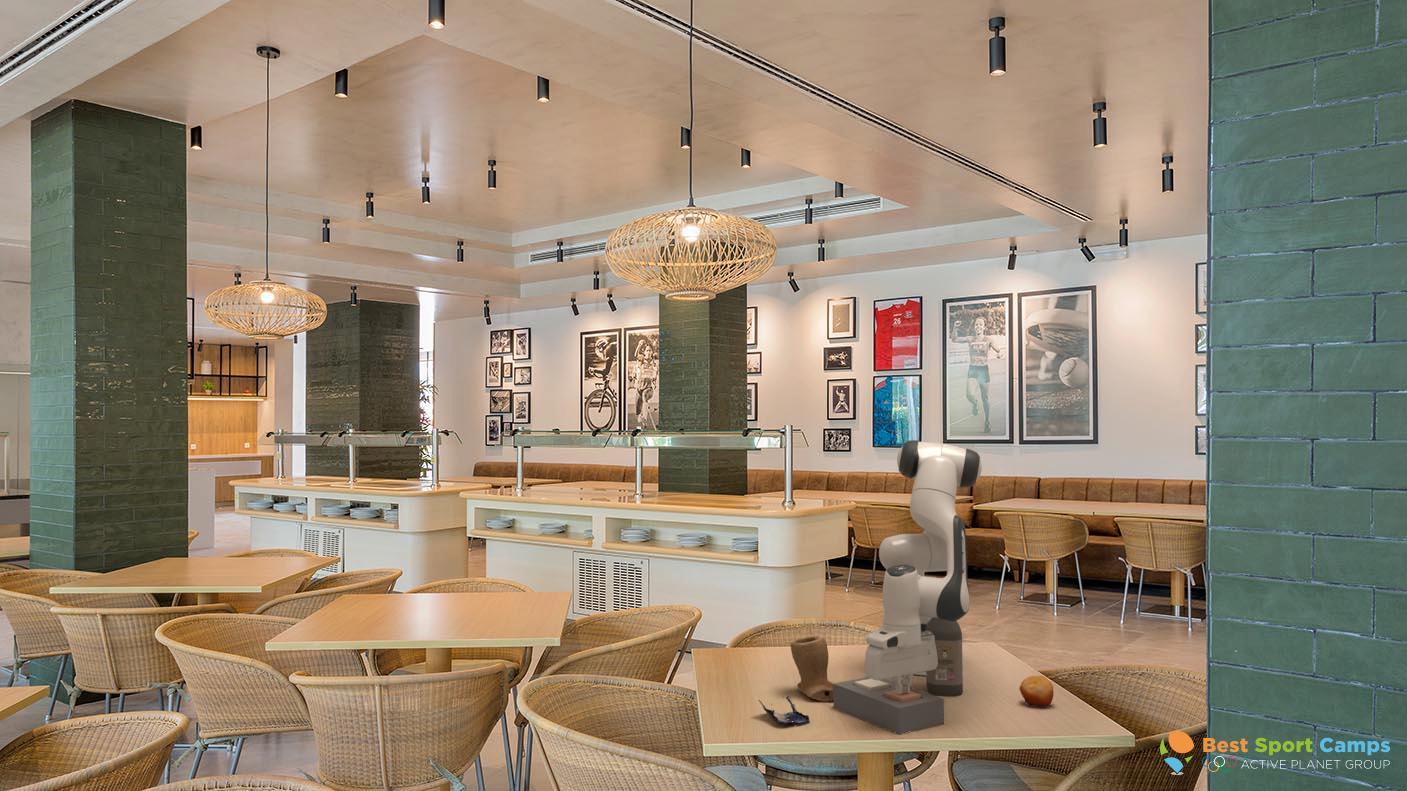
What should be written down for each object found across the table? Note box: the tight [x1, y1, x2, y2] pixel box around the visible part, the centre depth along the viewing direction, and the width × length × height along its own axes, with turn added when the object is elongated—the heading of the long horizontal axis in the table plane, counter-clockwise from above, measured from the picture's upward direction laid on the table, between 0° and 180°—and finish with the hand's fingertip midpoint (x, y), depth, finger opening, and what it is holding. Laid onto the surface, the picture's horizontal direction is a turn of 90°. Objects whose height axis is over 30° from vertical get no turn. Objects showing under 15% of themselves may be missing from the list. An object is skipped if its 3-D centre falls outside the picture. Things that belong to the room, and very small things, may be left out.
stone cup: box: [790, 635, 834, 702], centre depth 248 cm, size 15×12×15 cm
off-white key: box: [855, 679, 889, 691], centre depth 235 cm, size 6×6×3 cm
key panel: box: [832, 676, 945, 735], centre depth 230 cm, size 24×14×6 cm, turn 31°
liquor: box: [925, 575, 964, 697], centre depth 251 cm, size 9×9×30 cm
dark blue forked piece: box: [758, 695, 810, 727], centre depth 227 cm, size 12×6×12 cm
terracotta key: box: [884, 690, 921, 702], centre depth 226 cm, size 6×6×3 cm
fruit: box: [1018, 675, 1054, 708], centre depth 239 cm, size 8×8×8 cm
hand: (902, 693), depth 226 cm, fingers closed, pressing on terracotta key
